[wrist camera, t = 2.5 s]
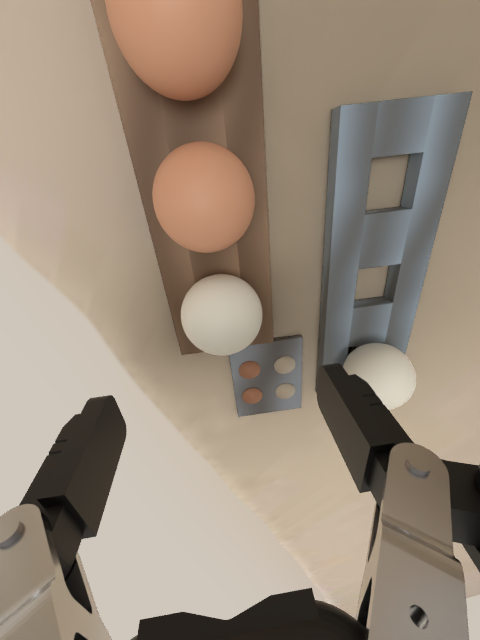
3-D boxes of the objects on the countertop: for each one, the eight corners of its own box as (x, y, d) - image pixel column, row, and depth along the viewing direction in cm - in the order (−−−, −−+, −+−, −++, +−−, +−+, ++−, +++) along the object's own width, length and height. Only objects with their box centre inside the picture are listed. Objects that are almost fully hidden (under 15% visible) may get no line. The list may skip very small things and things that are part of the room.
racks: (502, -112, 12) (532, -140, 10) (385, 391, 26) (393, 400, 25) (77, -79, 11) (63, -105, 10) (201, 418, 26) (201, 429, 24)
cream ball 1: (253, 258, 18) (267, 287, 13) (258, 323, 20) (271, 366, 16) (177, 268, 18) (166, 301, 13) (191, 332, 20) (186, 378, 16)
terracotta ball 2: (244, 140, 14) (259, 128, 10) (251, 235, 17) (266, 258, 13) (151, 150, 14) (125, 143, 10) (172, 245, 17) (159, 272, 12)
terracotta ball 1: (230, -46, 11) (243, -180, 7) (241, 105, 14) (256, 76, 9) (109, -35, 11) (45, -166, 7) (143, 115, 14) (112, 91, 9)
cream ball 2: (395, 326, 22) (442, 366, 17) (385, 374, 24) (423, 419, 20) (334, 335, 21) (366, 377, 17) (330, 382, 24) (356, 429, 20)
